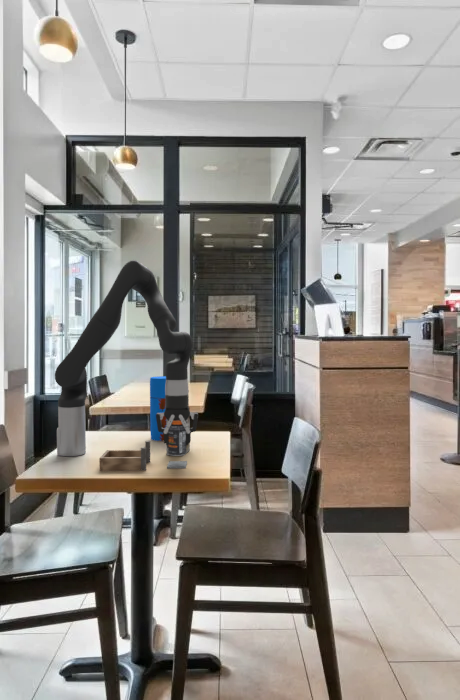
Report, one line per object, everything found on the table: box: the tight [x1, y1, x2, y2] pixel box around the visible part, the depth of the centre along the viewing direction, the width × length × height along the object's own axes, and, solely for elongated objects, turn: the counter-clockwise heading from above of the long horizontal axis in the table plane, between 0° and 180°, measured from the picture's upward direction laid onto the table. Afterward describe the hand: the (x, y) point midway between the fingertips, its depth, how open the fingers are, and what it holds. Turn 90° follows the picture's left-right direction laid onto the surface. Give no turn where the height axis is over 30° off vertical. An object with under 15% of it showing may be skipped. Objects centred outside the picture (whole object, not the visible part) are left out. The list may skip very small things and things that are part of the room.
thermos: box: [149, 375, 166, 442], centre depth 215 cm, size 11×11×25 cm
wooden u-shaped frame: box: [98, 440, 151, 472], centre depth 171 cm, size 14×11×7 cm
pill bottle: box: [168, 420, 187, 457], centre depth 172 cm, size 6×6×11 cm
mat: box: [166, 460, 188, 469], centre depth 172 cm, size 6×7×1 cm
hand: (177, 444), depth 172 cm, fingers closed on pill bottle, 6 cm apart
